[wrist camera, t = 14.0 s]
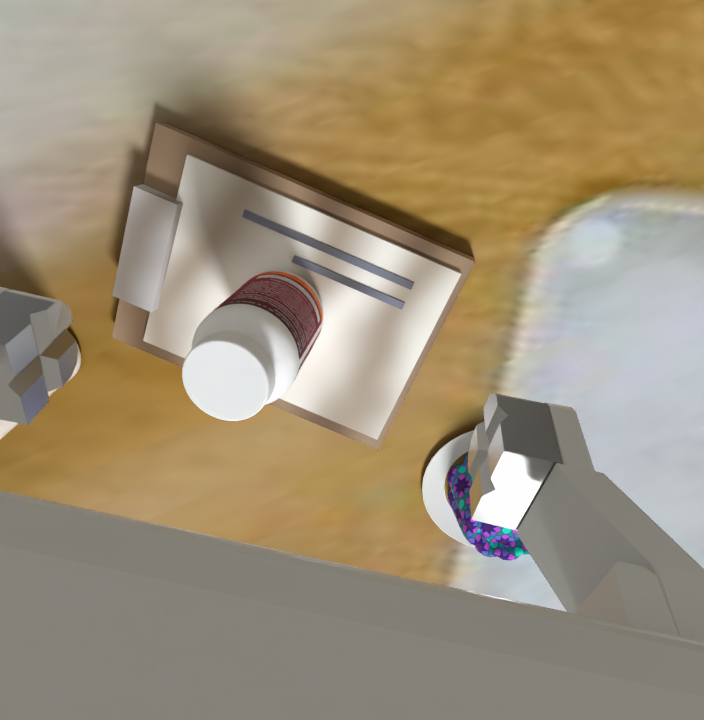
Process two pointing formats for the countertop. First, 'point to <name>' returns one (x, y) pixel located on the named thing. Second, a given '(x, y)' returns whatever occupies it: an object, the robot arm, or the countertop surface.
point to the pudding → (463, 504)
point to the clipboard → (288, 253)
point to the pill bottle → (253, 345)
